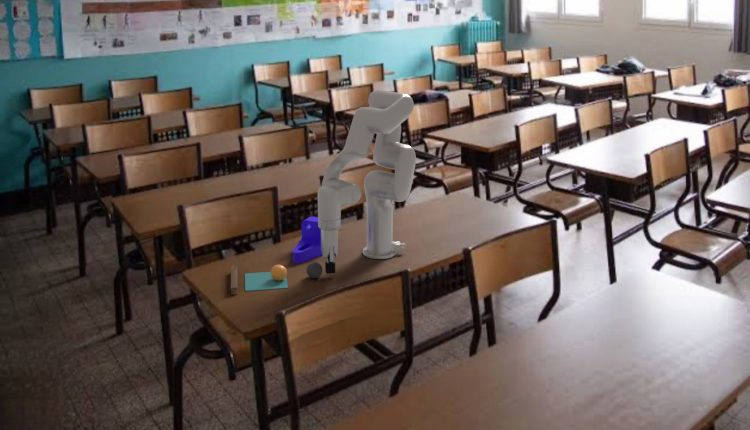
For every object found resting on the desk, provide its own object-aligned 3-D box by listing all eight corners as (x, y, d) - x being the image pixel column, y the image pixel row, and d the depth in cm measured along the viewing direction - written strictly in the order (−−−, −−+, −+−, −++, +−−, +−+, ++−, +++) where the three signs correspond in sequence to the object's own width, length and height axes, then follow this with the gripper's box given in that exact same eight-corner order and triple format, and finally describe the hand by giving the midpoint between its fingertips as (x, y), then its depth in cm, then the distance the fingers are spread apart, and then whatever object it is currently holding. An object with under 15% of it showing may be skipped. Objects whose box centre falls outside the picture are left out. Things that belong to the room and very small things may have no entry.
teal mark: (285, 271, 253) (285, 270, 253) (288, 288, 240) (288, 287, 240) (244, 274, 251) (244, 273, 251) (245, 291, 238) (245, 290, 238)
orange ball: (277, 259, 246) (266, 270, 247) (278, 265, 241) (267, 276, 242) (289, 268, 248) (278, 279, 249) (290, 275, 243) (279, 286, 244)
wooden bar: (237, 272, 252) (237, 265, 251) (237, 294, 235) (237, 287, 235) (231, 272, 252) (231, 266, 251) (231, 294, 235) (230, 287, 234)
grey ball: (307, 258, 248) (303, 272, 250) (309, 264, 243) (305, 279, 245) (323, 261, 250) (319, 275, 251) (325, 267, 245) (320, 282, 246)
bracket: (308, 244, 278) (307, 215, 274) (333, 249, 273) (332, 219, 269) (282, 261, 262) (281, 230, 258) (308, 266, 258) (307, 235, 254)
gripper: (316, 215, 249) (317, 264, 255) (320, 230, 235) (321, 282, 241) (337, 214, 250) (338, 263, 256) (343, 229, 236) (344, 280, 242)
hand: (330, 272), depth 249 cm, fingers closed
